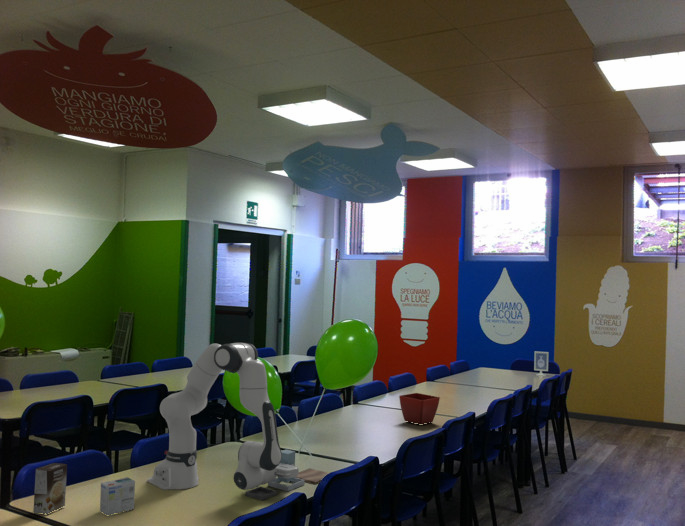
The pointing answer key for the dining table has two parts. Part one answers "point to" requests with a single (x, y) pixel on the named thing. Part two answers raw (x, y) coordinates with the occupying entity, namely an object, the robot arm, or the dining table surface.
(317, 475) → the walnut board
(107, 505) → the light bulb box
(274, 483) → the frame
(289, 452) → the blue-grey block
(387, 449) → the dining table surface
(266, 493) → the tray
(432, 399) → the plant pot
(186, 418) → the robot arm
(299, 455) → the dining table surface
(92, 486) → the dining table surface
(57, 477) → the coffee box
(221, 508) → the dining table surface
